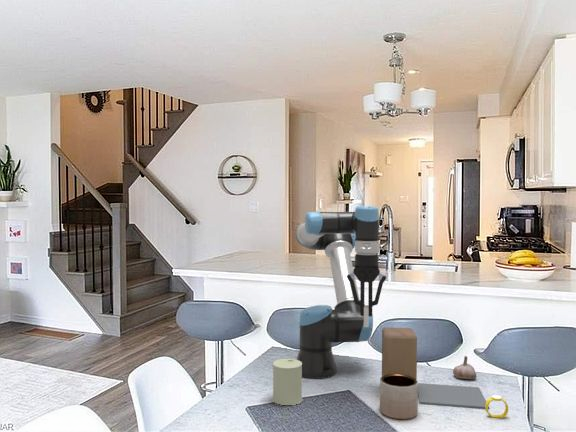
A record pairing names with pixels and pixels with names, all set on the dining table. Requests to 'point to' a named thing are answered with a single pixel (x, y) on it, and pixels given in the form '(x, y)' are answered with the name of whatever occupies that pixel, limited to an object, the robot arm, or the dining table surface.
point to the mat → (451, 396)
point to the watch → (496, 398)
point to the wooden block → (399, 351)
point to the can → (287, 381)
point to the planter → (398, 396)
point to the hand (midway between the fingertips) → (366, 326)
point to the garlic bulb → (464, 371)
